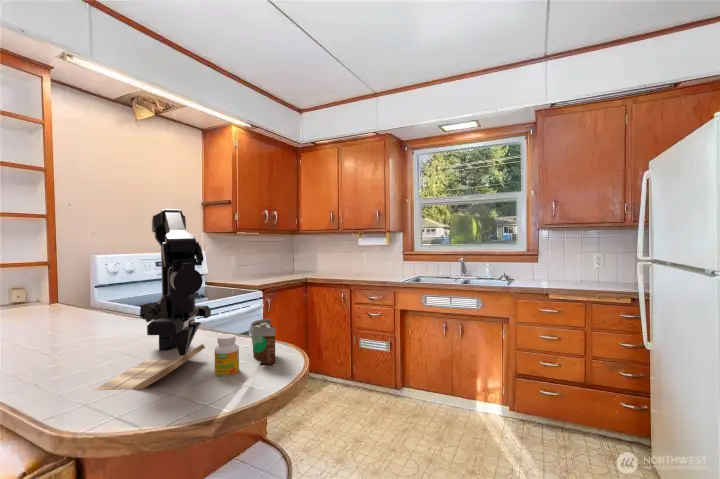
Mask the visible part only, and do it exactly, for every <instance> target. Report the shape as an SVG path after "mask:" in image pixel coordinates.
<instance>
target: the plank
mask: <svg viewBox="0 0 720 479" xmlns="http://www.w3.org/2000/svg"><path fill="white" fill-rule="evenodd" d="M205 348H206V347H205V345H204V343H202V344H200V345H198V346H197V347H195V348H193V349H192V350H190V351H187V353H186V354H185V355H184V356H180V357H178V358H176V359H174V360H175V361H173V362H172V363H170V364H169V365H167V366H165V367H164V368H162V369H161V370H159V371H158V372H156V373H155V374H153V375H152V376H150V377H149V378H147V379H146V380H144V381H143V382H141V383H140V384H138V385H137V386H135V387H133V389H132V390H143V389H145V388H147V387H148V386H150V385H152V384H154V382H157V381H158V380H160V379H162V378H164V377H165V376H167V375H169V374H170V373H171V372H173V371H174V370H175V369H177V368H178V367H180V366H181V365H183V364H184V363H186V361H188V360H190V359H192V358H193V357H194V356H195V355H196V354H198V353H200V352H201V351H203V350H204V349H205Z"/></svg>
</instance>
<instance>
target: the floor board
mask: <svg viewBox="0 0 720 479" xmlns="http://www.w3.org/2000/svg"><path fill="white" fill-rule="evenodd" d="M175 360H176V359H154V360H153V359H147V360H146V359H145V360H143V361H142V362H140V363H139V364H136V365H135V366H133V367H132V368H129V369H127V370H126V371H124V372H123V373H121V374H120V375H119V374H118V375H117V376H115V377H114V378H112V379H111V380H109V381H107V382H104V383H103V384H102V385H100V386H98V387H96V388H94V389H93V390H95V391H103V390H104V391H107V390H109V391H111V390H134V389H133V387H135V386H137V385H138V384H140V383H141V382H143V381H144V380H146V379H147V378H149V377H150V376H152V375H153V374H155V373H156V372H158V371H159V370H161V369H162V368H164V367H165V366H167V365H169V364H170V363H172V362H173V361H175Z"/></svg>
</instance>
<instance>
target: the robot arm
mask: <svg viewBox="0 0 720 479" xmlns="http://www.w3.org/2000/svg"><path fill="white" fill-rule="evenodd" d="M186 220H187V219H186V216H185V215H184V214H183V210H182V209H181V210H180V209H178V208H176V209H175V208H173V209H172V208H164V209H161V210H160V212H159V213H157V214H154V215H153V216H152V219H151V233H154V239H155V240H156V242H157V243H158V245H159V246H160V259H161V260H160V262H161V297H160V298H159V300H158V302H157V304H155V305H154V304H153V303H152V302H148V303H145V304H141V305H140V307H139V308H140V309H139V317H140V318H141V319H143V320H145V322H146V323H147V325H146V334H147V336H158V351H170V350H173V349H177V352H178V354H179V356H180V357H182V356H184V355H185V354H187V353H188V352H189V351H188V350H189V348H190V346H191V344H192V341H193V340H194V337H195V335H196V333H197V331H198V329H199V327H200V325H201V321H199V322H197V321H196V319H195V318H197V317H203V318H204V319H209V317H211V316H212V309H211V308H210V307H209V306H208V305H196V298H199V292H198V291H200V289H201V288H202V285H203V276H202V274H201V273H200V272H199V271H198V270H197V269H196V266H202V265H203V263H204V255H203V250H202V246H201V245H200V241H197V239H196V237H195V235H194V234H193V233H191V232H188V231H187V224H186V223H187V222H186Z"/></svg>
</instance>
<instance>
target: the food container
mask: <svg viewBox="0 0 720 479" xmlns="http://www.w3.org/2000/svg"><path fill="white" fill-rule="evenodd" d="M248 334H250V335H251V343H252V344H251V345H252V354H253V359H255V360H257V361H261V362H260V363H259V364H258V365H259V366H275V365H276V327H274V326H273V324H272V323H271V318H262V319H261V318H260V319H258V320H255V321H252V322H251V323H250V326H249V330H248ZM274 364H275V365H274Z"/></svg>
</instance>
